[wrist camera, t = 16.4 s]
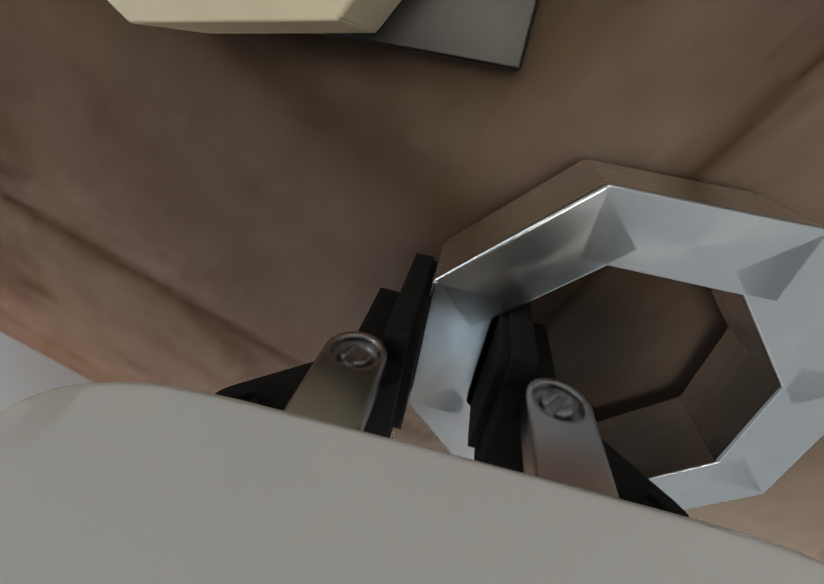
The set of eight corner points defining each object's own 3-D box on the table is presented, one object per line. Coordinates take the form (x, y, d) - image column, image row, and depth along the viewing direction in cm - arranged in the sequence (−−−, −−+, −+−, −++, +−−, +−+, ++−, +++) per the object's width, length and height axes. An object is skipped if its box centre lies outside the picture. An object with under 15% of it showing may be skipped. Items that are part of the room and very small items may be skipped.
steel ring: (407, 410, 15) (392, 466, 13) (466, 134, 10) (459, 153, 8) (675, 478, 14) (707, 550, 12) (886, 218, 9) (1004, 264, 7)
